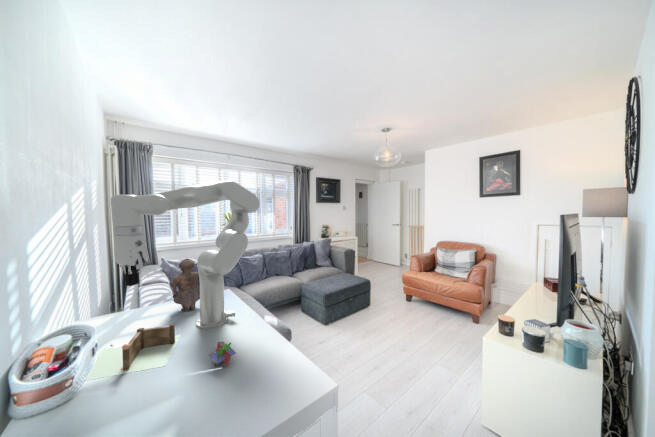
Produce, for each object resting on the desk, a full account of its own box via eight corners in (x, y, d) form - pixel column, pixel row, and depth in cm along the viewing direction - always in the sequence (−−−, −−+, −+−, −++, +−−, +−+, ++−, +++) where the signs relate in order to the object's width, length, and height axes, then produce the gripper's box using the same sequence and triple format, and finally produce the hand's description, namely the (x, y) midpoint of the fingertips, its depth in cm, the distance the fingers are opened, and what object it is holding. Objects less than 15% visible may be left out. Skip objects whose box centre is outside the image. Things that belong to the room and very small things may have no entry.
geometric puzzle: (243, 356, 75) (233, 333, 77) (224, 369, 69) (213, 343, 71) (231, 364, 78) (222, 341, 80) (212, 376, 72) (202, 351, 74)
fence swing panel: (136, 349, 81) (135, 328, 81) (142, 348, 82) (142, 327, 82) (121, 371, 70) (120, 346, 70) (128, 369, 71) (128, 345, 71)
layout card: (181, 335, 92) (181, 334, 92) (164, 367, 73) (164, 366, 73) (107, 346, 85) (107, 344, 85) (67, 385, 66) (67, 383, 66)
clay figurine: (199, 302, 125) (199, 255, 124) (206, 308, 118) (205, 258, 117) (170, 310, 116) (170, 259, 115) (175, 316, 108) (174, 262, 108)
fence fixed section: (175, 341, 87) (175, 323, 87) (174, 344, 85) (173, 325, 85) (138, 347, 83) (138, 328, 83) (136, 350, 82) (135, 331, 81)
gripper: (154, 230, 80) (158, 283, 82) (126, 229, 86) (131, 279, 87) (130, 233, 73) (134, 290, 75) (101, 232, 79) (106, 286, 80)
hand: (132, 284), depth 81 cm, fingers closed
